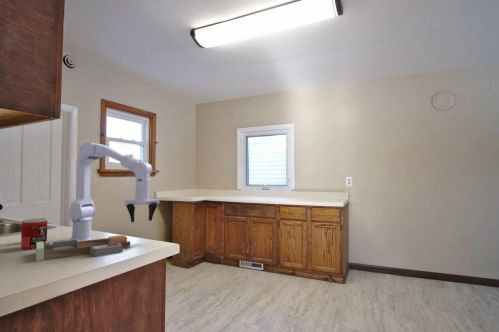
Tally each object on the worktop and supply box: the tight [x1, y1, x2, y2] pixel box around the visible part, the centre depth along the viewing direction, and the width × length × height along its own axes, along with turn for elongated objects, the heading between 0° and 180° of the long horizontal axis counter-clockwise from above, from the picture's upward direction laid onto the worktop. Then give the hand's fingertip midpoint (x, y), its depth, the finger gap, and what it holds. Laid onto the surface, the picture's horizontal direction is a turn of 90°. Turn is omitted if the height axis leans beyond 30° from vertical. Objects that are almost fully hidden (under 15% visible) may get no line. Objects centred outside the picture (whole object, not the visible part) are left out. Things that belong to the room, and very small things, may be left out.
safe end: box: [35, 241, 45, 262], centre depth 98 cm, size 12×2×4 cm, turn 38°
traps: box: [48, 239, 124, 257], centre depth 107 cm, size 22×22×2 cm
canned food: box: [20, 217, 47, 251], centre depth 110 cm, size 8×8×11 cm
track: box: [43, 237, 131, 261], centre depth 107 cm, size 12×28×2 cm, turn 128°
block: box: [107, 234, 128, 247], centre depth 114 cm, size 6×6×4 cm
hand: (141, 221), depth 120 cm, fingers open, 7 cm apart
